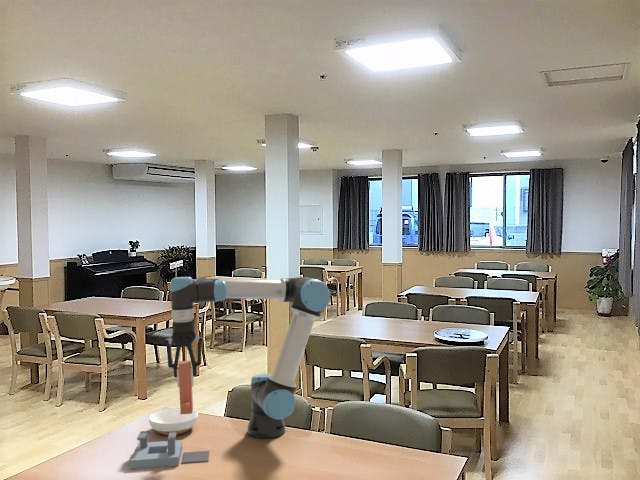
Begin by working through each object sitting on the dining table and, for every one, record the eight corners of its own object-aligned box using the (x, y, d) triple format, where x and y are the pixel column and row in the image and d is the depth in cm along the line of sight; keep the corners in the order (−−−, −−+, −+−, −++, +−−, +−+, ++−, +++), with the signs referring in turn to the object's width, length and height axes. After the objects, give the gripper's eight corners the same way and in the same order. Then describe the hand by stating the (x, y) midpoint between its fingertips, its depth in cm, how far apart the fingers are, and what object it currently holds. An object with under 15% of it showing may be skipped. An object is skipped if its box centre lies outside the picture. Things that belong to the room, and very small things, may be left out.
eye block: (182, 447, 213) (182, 425, 213) (178, 465, 197) (178, 441, 197) (138, 451, 211) (137, 428, 210) (130, 469, 195) (130, 445, 195)
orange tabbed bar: (182, 407, 209) (180, 358, 209) (193, 406, 210) (191, 358, 209) (179, 418, 198) (177, 366, 197) (191, 417, 198) (188, 365, 198)
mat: (209, 451, 209) (209, 450, 209) (208, 461, 200) (208, 460, 200) (184, 453, 208) (184, 452, 208) (181, 463, 199) (181, 462, 199)
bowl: (192, 439, 222) (192, 423, 222) (142, 439, 222) (142, 423, 222) (203, 422, 242) (203, 407, 241) (157, 422, 242) (157, 407, 242)
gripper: (156, 323, 198) (159, 390, 199) (206, 320, 200) (209, 386, 201) (159, 320, 205) (162, 384, 206) (208, 317, 208) (210, 381, 208)
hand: (185, 385), depth 204 cm, fingers closed on orange tabbed bar, 4 cm apart
